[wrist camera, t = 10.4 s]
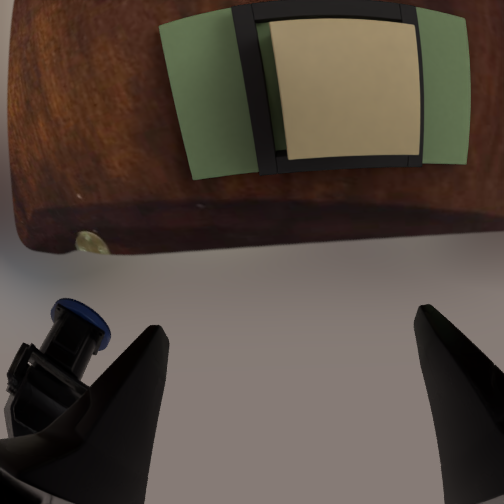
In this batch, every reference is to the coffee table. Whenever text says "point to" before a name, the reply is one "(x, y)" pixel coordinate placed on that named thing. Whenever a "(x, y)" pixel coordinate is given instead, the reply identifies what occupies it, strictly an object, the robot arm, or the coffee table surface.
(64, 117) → the coffee table surface
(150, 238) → the coffee table surface
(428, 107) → the pad
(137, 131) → the coffee table surface
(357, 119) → the foam block
